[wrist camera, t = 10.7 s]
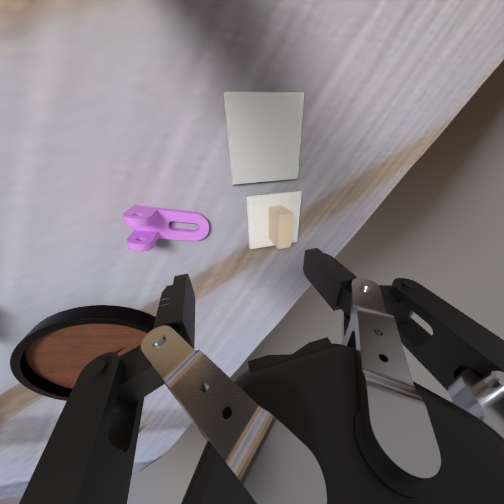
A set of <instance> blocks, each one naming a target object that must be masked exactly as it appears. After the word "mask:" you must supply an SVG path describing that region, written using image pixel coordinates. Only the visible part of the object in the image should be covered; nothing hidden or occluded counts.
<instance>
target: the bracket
mask: <svg viewBox="0 0 504 504" xmlns="http://www.w3.org/2000/svg"><path fill="white" fill-rule="evenodd" d="M123 216H124V223H125V225H127V226H130V227H134V231H133V232H132V233H131V235H130V236H129V237H128V238H127V245H128V249H129V250H131V251H135V252H144V251H148V250H151V249H152V248H153V247H154V245H155V243H156V241H157V239H173V240H189V241H198V240H201V239H203V238H205V237H206V236H207V234H208V232H209V223H208V220H207V218H206V217H205V216H204V215H202V214H201V213H198V212H191V211H183V210H174V209H165V208H156V207H147V206H138V205H134V206H132V207H131V208H130V209H129V210H127V211H126V212H125V213H124V214H123ZM171 221H176V222H187V223H196V224H198V225H199V228H198V229H197V230H190V229H178V228H172V227H171V226H170V225H169V223H170V222H171Z"/></svg>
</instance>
